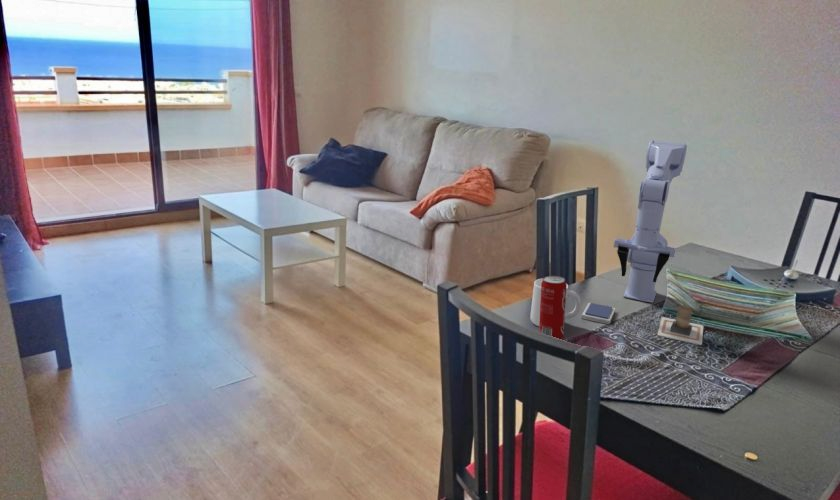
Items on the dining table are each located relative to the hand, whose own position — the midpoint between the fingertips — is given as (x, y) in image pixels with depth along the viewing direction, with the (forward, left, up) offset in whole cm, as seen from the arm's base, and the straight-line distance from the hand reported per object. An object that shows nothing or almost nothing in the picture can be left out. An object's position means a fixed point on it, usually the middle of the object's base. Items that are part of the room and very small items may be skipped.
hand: (638, 278), depth 156 cm
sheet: (+4, +12, -10) cm, 16 cm away
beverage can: (+25, -16, -11) cm, 31 cm away
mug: (+16, -17, -11) cm, 26 cm away
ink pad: (+5, -8, -10) cm, 14 cm away
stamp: (+4, +12, -10) cm, 16 cm away
